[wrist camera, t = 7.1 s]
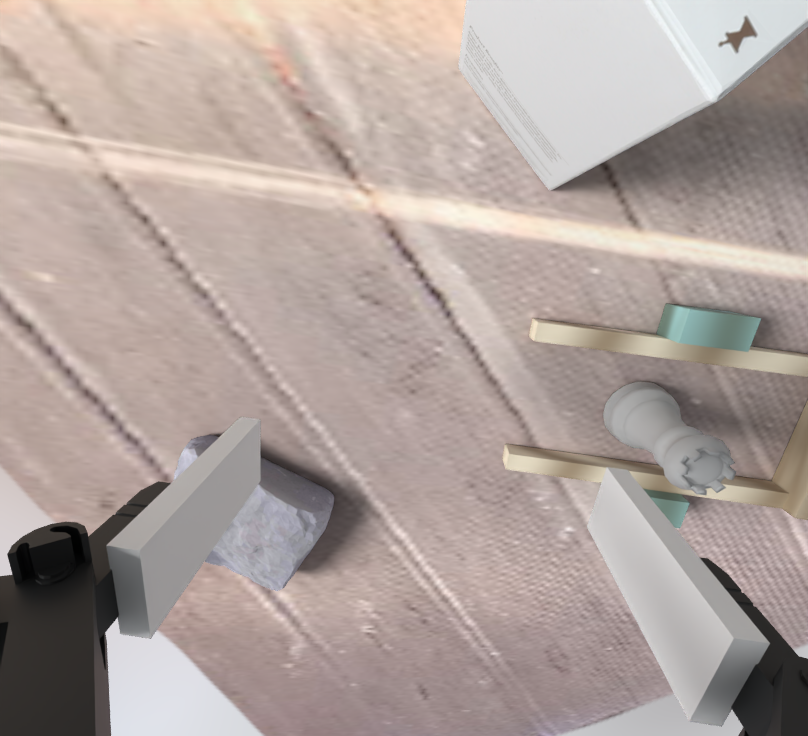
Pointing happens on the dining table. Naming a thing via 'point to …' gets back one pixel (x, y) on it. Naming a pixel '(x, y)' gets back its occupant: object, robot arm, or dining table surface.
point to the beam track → (695, 342)
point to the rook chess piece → (667, 437)
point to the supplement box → (611, 68)
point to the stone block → (269, 522)
